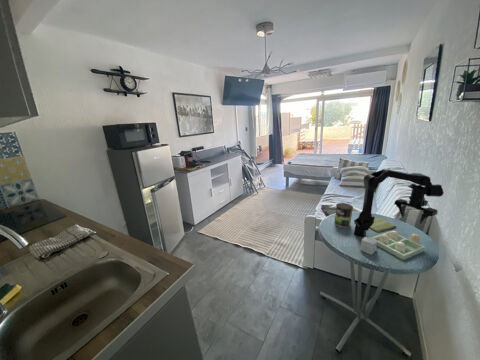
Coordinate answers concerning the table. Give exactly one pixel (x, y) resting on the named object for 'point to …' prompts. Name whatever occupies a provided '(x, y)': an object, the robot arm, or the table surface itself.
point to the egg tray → (411, 246)
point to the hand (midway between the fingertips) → (411, 220)
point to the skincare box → (368, 245)
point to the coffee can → (343, 215)
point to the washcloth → (381, 225)
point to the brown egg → (415, 238)
